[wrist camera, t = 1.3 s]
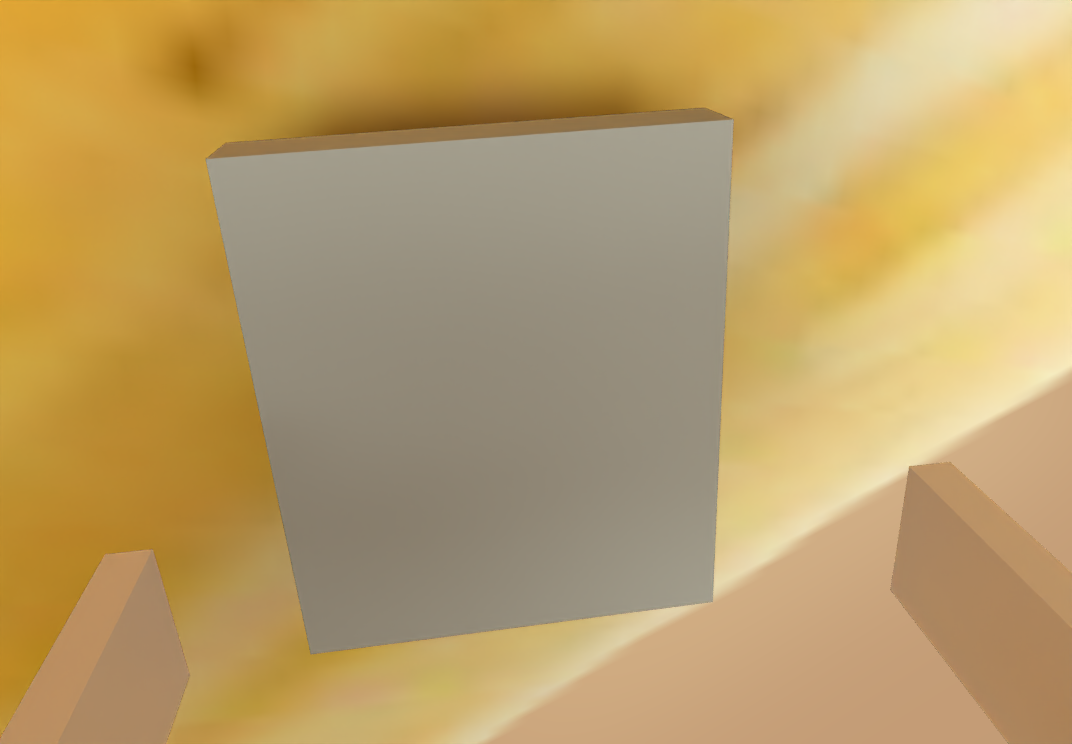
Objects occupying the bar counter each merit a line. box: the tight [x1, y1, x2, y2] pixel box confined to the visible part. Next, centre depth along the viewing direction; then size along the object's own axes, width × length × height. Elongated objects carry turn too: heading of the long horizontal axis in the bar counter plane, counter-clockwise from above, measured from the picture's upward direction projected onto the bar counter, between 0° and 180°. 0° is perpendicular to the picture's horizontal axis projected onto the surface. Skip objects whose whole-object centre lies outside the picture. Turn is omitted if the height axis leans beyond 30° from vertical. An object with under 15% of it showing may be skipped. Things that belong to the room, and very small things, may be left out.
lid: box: [206, 108, 734, 654], centre depth 21 cm, size 11×13×2 cm
